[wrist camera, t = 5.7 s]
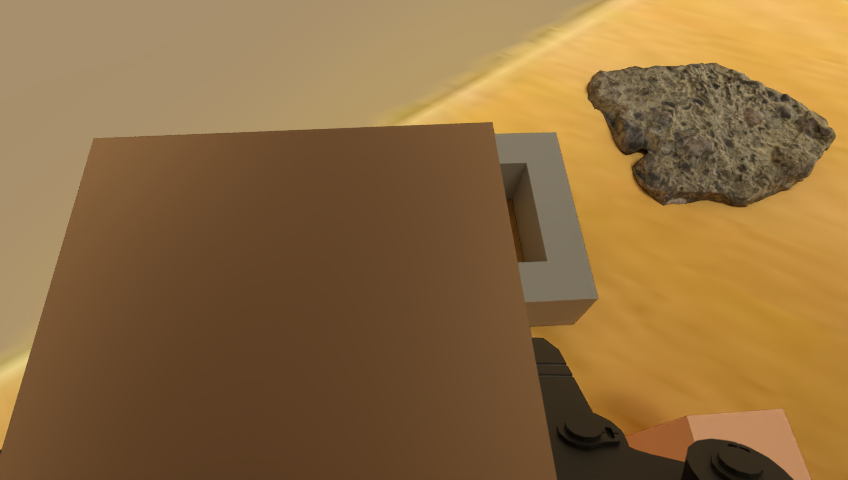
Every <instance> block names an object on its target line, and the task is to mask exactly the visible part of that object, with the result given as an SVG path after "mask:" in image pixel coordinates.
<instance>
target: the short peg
mask: <svg viewBox="0 0 848 480" xmlns="http://www.w3.org/2000/svg"><path fill="white" fill-rule="evenodd" d="M625 438H626V439H627V441H628V444H629V447H631V448H634V449H636V450H639V451H642V452H646V453H649V454H653V455H657V456H662V457H666V458H670V459H675V460H679V461H683V462H685V458H686V454H687V449H688V446H690V445H691V444H693V443H694V442H695V441H697V440H704V439H710V438H712V439H720V440H728V441H732V442H737V443H738V444H743V445H745V446H748V447H750V448H752V449H754V450H756V451H758V452H759V453H761V454H763V455H765V456H767V457H769V458H770V459H771V460H772V461H774V462H775V463H776V464H777V465H779V466H780V467H781V468H782V469H784V470H785V471H786V472H787V473H788V474H789V475H790V476H791V477H792V478H793V479H794V480H811V477H810V475H809V472H808V470H807V467H806V465H805V462H804V460H803V457H802V455H801V452H800V450H799V447H798V444H797V442H796V439H795V437H794V434H793V432H792V429H791V427H790V424H789V422H788V419H787V417H786V414H785V412H784V409H771V410H758V411H744V412H730V413H717V414H703V415H690V416H684V417H681V418H679V419H676V420H673V421H670V422H667V423H664V424H661V425H658V426H655V427H652V428H649V429H646V430H643V431H640V432H637V433H634V434H631V435H629V436H626V437H625Z"/></svg>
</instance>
